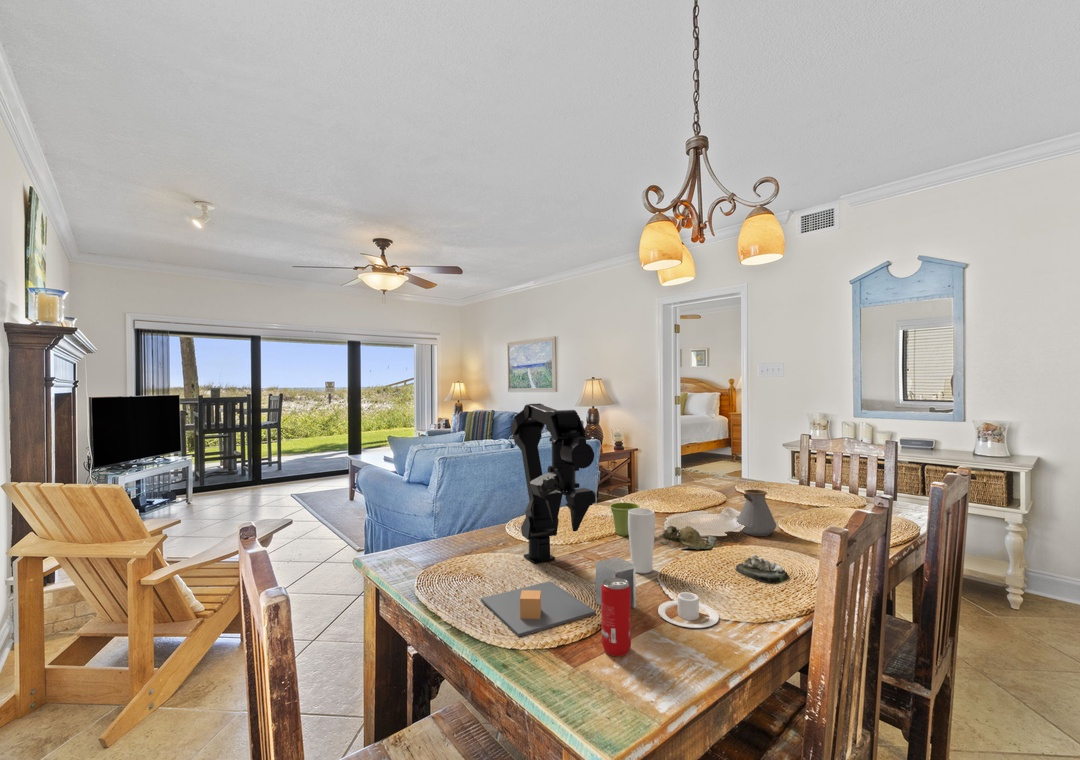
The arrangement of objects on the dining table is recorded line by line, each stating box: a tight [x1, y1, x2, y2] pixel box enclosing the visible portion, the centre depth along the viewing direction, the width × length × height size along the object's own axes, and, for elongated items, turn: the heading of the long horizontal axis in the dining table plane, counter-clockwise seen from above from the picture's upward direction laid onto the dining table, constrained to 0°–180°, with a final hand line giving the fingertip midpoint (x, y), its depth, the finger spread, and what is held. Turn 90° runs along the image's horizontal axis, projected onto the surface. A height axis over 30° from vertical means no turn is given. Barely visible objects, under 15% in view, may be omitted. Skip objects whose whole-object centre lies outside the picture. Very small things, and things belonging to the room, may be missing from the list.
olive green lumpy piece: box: [657, 525, 718, 550], centre depth 149 cm, size 18×18×5 cm
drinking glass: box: [628, 507, 656, 574], centre depth 126 cm, size 7×7×15 cm
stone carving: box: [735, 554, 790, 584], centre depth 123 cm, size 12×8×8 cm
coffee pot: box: [736, 489, 777, 537], centre depth 152 cm, size 21×12×15 cm, turn 145°
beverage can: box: [600, 578, 632, 658], centre depth 89 cm, size 5×5×12 cm
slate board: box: [480, 580, 597, 638], centre depth 106 cm, size 18×18×1 cm
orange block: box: [520, 590, 541, 619], centre depth 102 cm, size 4×4×4 cm
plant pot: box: [609, 501, 641, 537], centre depth 157 cm, size 9×9×9 cm
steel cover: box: [595, 556, 637, 609], centre depth 107 cm, size 6×6×9 cm
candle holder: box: [657, 591, 720, 629], centre depth 102 cm, size 12×12×4 cm
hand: (564, 526), depth 121 cm, fingers open, 9 cm apart
